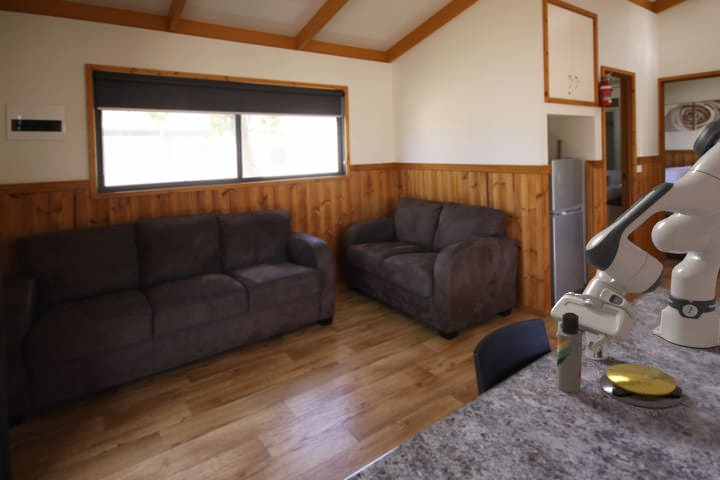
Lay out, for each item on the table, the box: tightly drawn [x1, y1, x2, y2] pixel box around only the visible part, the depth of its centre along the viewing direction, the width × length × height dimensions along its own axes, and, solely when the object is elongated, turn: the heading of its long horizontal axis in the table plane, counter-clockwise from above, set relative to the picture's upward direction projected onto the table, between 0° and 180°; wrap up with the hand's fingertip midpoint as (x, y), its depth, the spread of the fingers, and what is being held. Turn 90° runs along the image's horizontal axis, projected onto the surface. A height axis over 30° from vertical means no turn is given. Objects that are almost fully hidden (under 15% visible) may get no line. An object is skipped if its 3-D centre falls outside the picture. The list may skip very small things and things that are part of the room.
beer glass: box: [584, 331, 609, 361], centre depth 135 cm, size 7×7×15 cm
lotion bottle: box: [556, 312, 583, 394], centre depth 118 cm, size 6×6×20 cm
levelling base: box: [599, 363, 684, 410], centre depth 117 cm, size 18×18×3 cm
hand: (574, 343), depth 118 cm, fingers open, 8 cm apart
